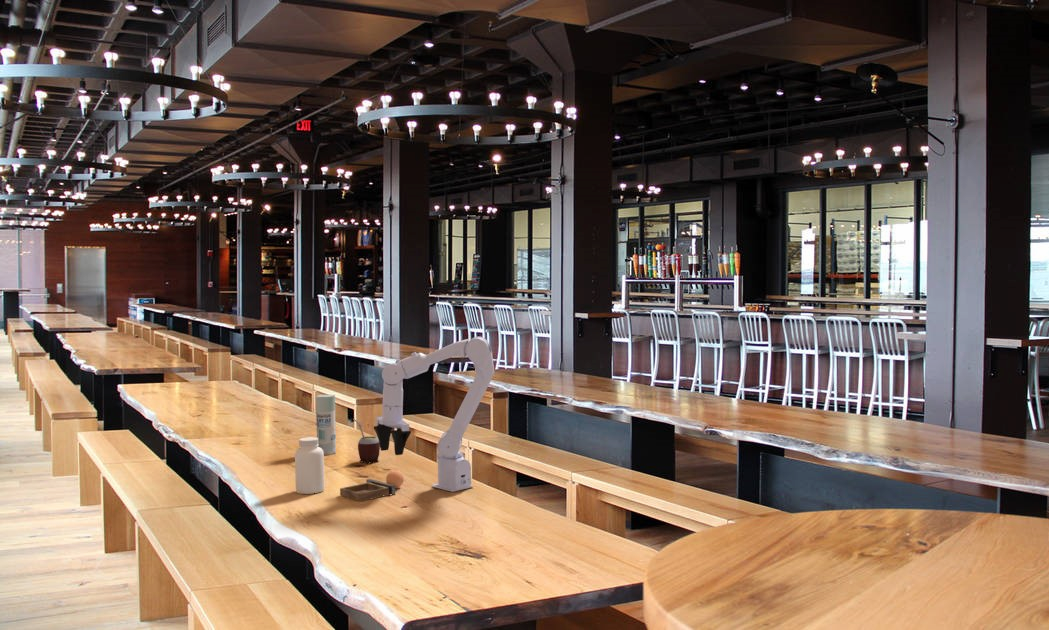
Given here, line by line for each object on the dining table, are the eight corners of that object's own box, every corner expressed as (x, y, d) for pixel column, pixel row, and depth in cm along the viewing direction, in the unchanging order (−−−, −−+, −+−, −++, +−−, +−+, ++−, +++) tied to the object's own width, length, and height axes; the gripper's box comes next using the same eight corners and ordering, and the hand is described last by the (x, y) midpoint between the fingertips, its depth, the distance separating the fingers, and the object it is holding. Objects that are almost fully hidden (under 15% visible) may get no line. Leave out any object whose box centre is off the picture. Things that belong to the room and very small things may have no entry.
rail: (395, 494, 241) (395, 485, 241) (391, 495, 240) (391, 486, 240) (370, 487, 250) (369, 478, 250) (366, 488, 249) (366, 479, 249)
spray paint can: (339, 451, 302) (338, 394, 301) (331, 455, 296) (330, 397, 295) (321, 451, 303) (320, 394, 303) (313, 455, 297) (312, 396, 296)
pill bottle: (289, 493, 244) (288, 440, 243) (306, 486, 251) (305, 435, 250) (314, 495, 241) (312, 442, 240) (330, 489, 248) (329, 436, 248)
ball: (407, 487, 249) (407, 470, 248) (393, 491, 245) (393, 473, 245) (396, 485, 252) (396, 467, 252) (382, 488, 249) (382, 470, 248)
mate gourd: (382, 459, 288) (381, 414, 287) (376, 465, 280) (375, 418, 279) (360, 459, 289) (359, 414, 288) (353, 464, 281) (352, 418, 280)
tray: (389, 494, 241) (389, 487, 241) (360, 501, 234) (360, 494, 234) (368, 489, 247) (368, 482, 247) (340, 495, 241) (340, 488, 240)
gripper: (367, 403, 251) (366, 449, 252) (394, 409, 240) (393, 458, 241) (388, 401, 256) (387, 447, 256) (415, 407, 245) (414, 455, 245)
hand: (391, 452), depth 249 cm, fingers open, 7 cm apart
